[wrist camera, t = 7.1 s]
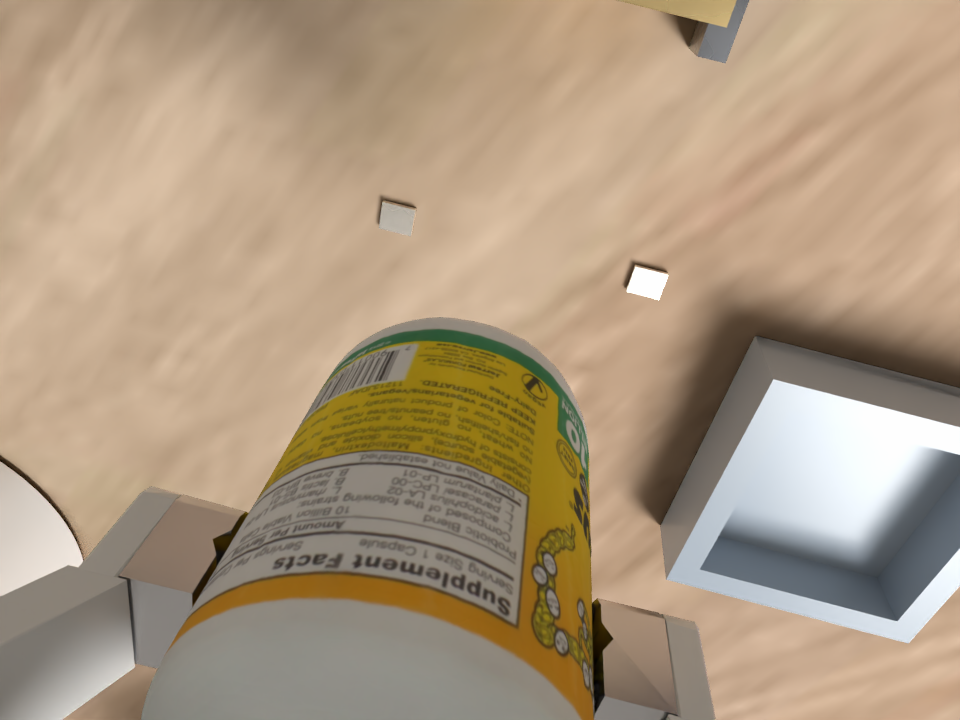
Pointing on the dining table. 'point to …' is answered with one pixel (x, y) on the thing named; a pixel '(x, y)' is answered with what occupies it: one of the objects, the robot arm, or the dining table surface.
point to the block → (693, 9)
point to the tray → (824, 493)
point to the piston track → (643, 280)
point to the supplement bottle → (407, 549)
